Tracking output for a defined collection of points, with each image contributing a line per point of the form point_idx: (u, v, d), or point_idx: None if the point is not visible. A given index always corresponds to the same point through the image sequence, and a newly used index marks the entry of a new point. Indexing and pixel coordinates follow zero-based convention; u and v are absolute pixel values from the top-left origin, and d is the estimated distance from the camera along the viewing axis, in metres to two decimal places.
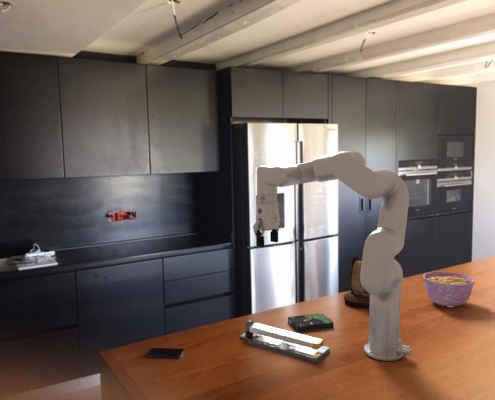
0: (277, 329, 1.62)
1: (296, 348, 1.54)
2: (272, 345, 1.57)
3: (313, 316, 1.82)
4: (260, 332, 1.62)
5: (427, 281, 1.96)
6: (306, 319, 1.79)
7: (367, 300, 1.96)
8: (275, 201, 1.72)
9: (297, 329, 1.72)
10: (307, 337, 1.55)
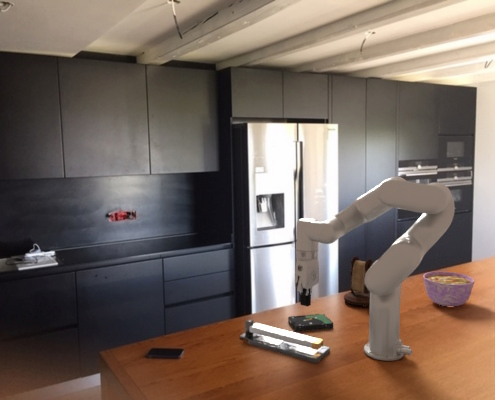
0: (277, 329, 1.62)
1: (296, 348, 1.54)
2: (272, 345, 1.57)
3: (314, 316, 1.81)
4: (260, 332, 1.62)
5: (427, 281, 1.96)
6: (306, 319, 1.79)
7: (367, 300, 1.96)
8: (316, 257, 1.60)
9: (296, 329, 1.72)
10: (307, 337, 1.55)
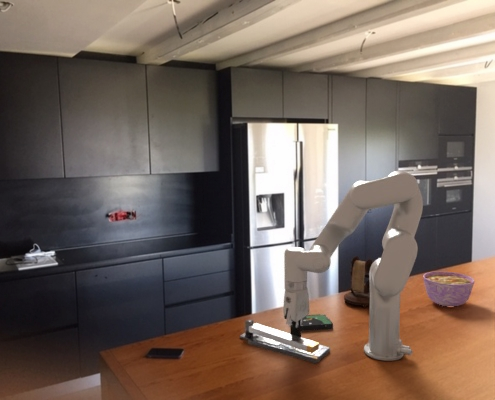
0: (275, 330, 1.61)
1: (296, 348, 1.54)
2: (272, 345, 1.57)
3: (314, 316, 1.81)
4: (258, 332, 1.62)
5: (427, 281, 1.96)
6: (306, 319, 1.78)
7: (367, 300, 1.96)
8: (305, 288, 1.54)
9: None
10: (303, 340, 1.53)
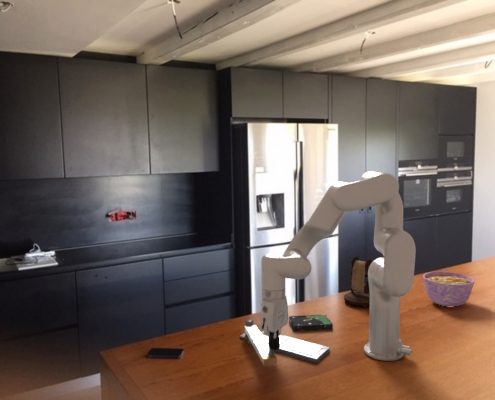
0: (259, 335, 1.57)
1: (296, 348, 1.54)
2: None
3: (314, 317, 1.81)
4: (247, 334, 1.61)
5: (427, 281, 1.96)
6: (306, 319, 1.78)
7: (367, 300, 1.96)
8: (283, 297, 1.46)
9: (294, 328, 1.72)
10: (268, 350, 1.45)
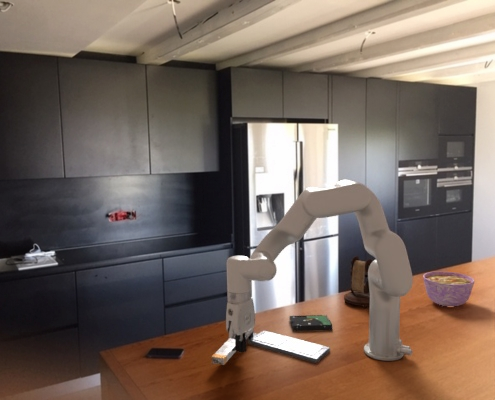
0: None
1: (296, 348, 1.54)
2: (272, 345, 1.57)
3: (315, 317, 1.81)
4: None
5: (427, 281, 1.96)
6: (306, 319, 1.78)
7: (367, 300, 1.96)
8: (248, 299, 1.45)
9: (293, 328, 1.73)
10: (226, 350, 1.46)
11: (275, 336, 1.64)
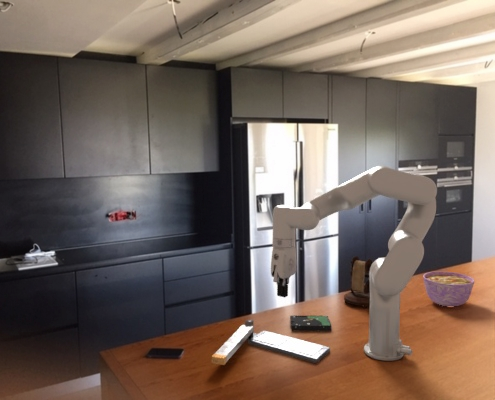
0: (240, 336, 1.57)
1: (296, 348, 1.54)
2: (272, 345, 1.57)
3: (316, 317, 1.80)
4: None
5: (427, 281, 1.96)
6: (306, 319, 1.78)
7: (367, 300, 1.96)
8: (293, 246, 1.53)
9: (292, 328, 1.73)
10: (226, 350, 1.46)
11: (275, 336, 1.64)
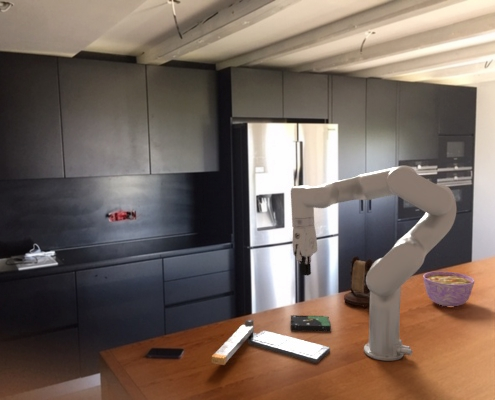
0: (240, 336, 1.57)
1: (296, 348, 1.54)
2: (272, 345, 1.57)
3: (316, 317, 1.80)
4: None
5: (427, 281, 1.96)
6: (306, 319, 1.78)
7: (367, 300, 1.96)
8: (313, 224, 1.58)
9: (291, 328, 1.73)
10: (226, 350, 1.46)
11: (275, 336, 1.64)
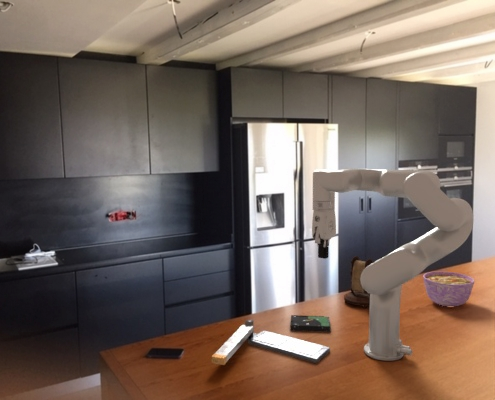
0: (240, 336, 1.57)
1: (296, 348, 1.54)
2: (272, 345, 1.57)
3: (316, 318, 1.80)
4: None
5: (427, 281, 1.96)
6: (306, 319, 1.78)
7: (367, 300, 1.96)
8: (333, 208, 1.59)
9: (291, 327, 1.73)
10: (226, 350, 1.46)
11: (275, 336, 1.64)
